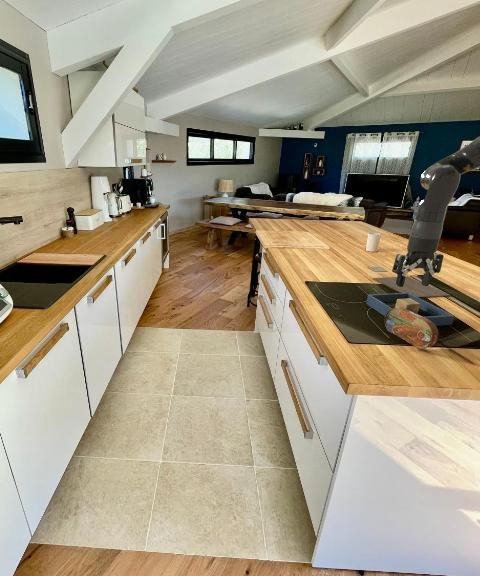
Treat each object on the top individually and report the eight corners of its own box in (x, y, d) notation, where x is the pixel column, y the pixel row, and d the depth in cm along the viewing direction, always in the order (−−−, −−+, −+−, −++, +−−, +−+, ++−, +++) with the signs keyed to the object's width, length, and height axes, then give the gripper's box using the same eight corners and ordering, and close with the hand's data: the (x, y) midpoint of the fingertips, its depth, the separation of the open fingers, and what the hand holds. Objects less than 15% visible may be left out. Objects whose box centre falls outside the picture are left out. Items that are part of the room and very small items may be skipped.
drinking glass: (377, 252, 180) (381, 235, 176) (364, 251, 183) (367, 234, 179) (378, 249, 185) (381, 233, 182) (365, 248, 188) (368, 232, 185)
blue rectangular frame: (405, 302, 113) (408, 292, 112) (451, 327, 95) (454, 315, 94) (365, 304, 112) (367, 294, 111) (404, 330, 94) (407, 318, 93)
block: (406, 310, 106) (410, 298, 104) (417, 316, 102) (420, 303, 100) (394, 311, 106) (397, 298, 104) (403, 317, 101) (407, 304, 100)
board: (406, 279, 137) (407, 276, 136) (449, 298, 116) (450, 295, 116) (372, 281, 135) (372, 278, 135) (409, 301, 115) (410, 297, 114)
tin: (381, 328, 96) (386, 303, 93) (390, 327, 96) (395, 302, 93) (426, 355, 82) (434, 326, 79) (435, 353, 83) (444, 325, 80)
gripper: (412, 238, 90) (399, 291, 96) (457, 237, 91) (442, 289, 97) (394, 233, 97) (383, 282, 103) (436, 232, 98) (423, 281, 104)
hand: (412, 285), depth 100 cm, fingers open, 8 cm apart
